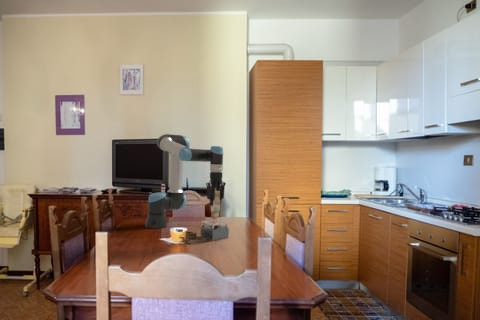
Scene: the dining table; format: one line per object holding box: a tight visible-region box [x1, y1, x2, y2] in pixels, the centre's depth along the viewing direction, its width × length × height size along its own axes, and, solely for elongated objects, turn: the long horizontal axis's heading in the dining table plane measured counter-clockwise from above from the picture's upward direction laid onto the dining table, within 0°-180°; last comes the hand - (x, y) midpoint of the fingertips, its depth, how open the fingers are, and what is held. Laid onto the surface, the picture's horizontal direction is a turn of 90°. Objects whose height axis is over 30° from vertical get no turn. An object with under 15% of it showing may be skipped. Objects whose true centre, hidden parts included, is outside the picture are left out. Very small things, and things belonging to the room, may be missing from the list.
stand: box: [185, 230, 197, 237], centre depth 187 cm, size 8×8×3 cm
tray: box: [182, 235, 207, 245], centre depth 177 cm, size 10×10×2 cm
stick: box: [210, 190, 220, 219], centre depth 188 cm, size 3×3×16 cm
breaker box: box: [199, 218, 230, 242], centre depth 188 cm, size 12×12×10 cm
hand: (215, 210), depth 188 cm, fingers closed on stick, 3 cm apart
